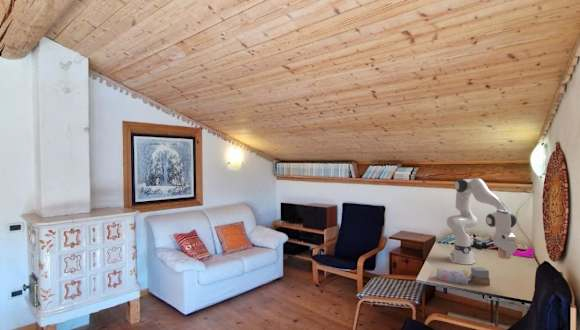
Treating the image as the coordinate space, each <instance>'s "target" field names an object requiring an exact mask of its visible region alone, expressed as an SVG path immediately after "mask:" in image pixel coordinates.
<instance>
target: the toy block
mask: <svg viewBox="0 0 580 330" xmlns="http://www.w3.org/2000/svg"><path fill="white" fill-rule="evenodd" d="M512 256H517V257H528V258H534V248H533V247H531V246H530V247H528V249H526V250H524V251H523V250H518V249H517V248H516V250H515V252H512Z"/></svg>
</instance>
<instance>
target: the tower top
mask: <svg viewBox="0 0 580 330" xmlns="http://www.w3.org/2000/svg"><path fill="white" fill-rule="evenodd" d="M470 271H471V273H470V274H471V275H473V276H474V277H476V278H490V275H489V274H490V271H489V270H488V269H487V268H485V267H481V266H480V267H471V268H470Z"/></svg>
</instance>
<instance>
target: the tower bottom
mask: <svg viewBox="0 0 580 330" xmlns="http://www.w3.org/2000/svg"><path fill="white" fill-rule="evenodd" d="M469 276H470V279H469V281H471V282H472V283H473V284H474V285H476V286H491V280H490V279H491V278H490V277H489V278H476V277H474V276H473V275H471V273H470V274H469Z"/></svg>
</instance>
